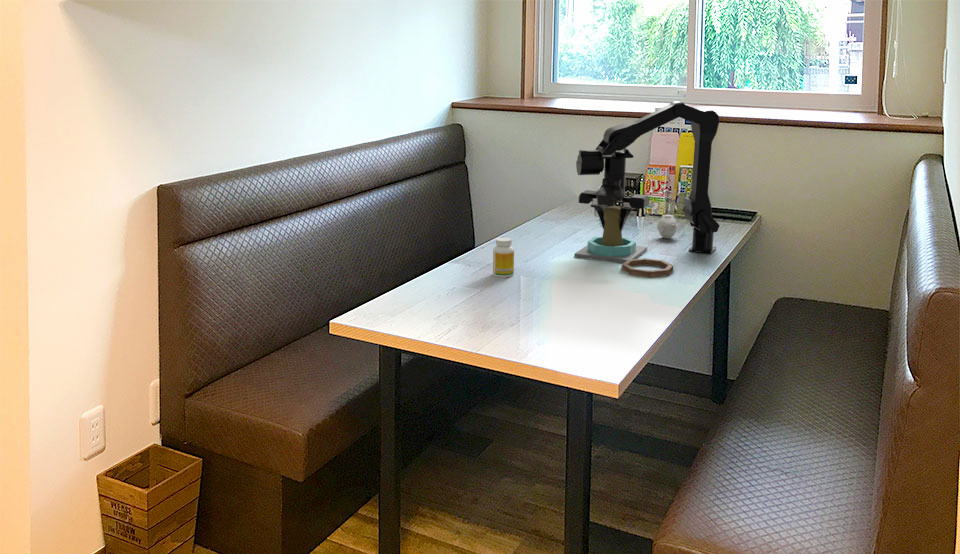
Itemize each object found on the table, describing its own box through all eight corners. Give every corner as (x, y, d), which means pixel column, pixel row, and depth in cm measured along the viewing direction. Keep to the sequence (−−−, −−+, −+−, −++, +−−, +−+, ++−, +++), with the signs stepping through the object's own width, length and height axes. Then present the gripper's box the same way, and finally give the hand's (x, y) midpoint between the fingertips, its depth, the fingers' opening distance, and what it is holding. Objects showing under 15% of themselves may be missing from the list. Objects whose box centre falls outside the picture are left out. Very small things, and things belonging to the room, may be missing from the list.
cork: (622, 248, 248) (623, 209, 245) (600, 247, 250) (601, 208, 246) (623, 243, 254) (625, 205, 251) (601, 242, 255) (603, 204, 252)
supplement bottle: (489, 273, 233) (489, 237, 230) (507, 271, 235) (508, 235, 233) (498, 279, 229) (499, 242, 226) (517, 276, 231) (517, 240, 228)
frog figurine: (675, 235, 273) (677, 213, 271) (678, 241, 266) (679, 218, 265) (655, 235, 274) (656, 212, 272) (657, 240, 267) (658, 217, 265)
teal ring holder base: (593, 244, 263) (594, 232, 262) (647, 250, 256) (647, 238, 255) (574, 257, 249) (574, 244, 248) (630, 263, 242) (630, 251, 241)
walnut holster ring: (631, 261, 244) (632, 256, 244) (676, 267, 239) (677, 261, 238) (617, 273, 234) (617, 267, 233) (664, 279, 228) (664, 273, 228)
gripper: (572, 176, 243) (570, 232, 248) (638, 181, 235) (636, 239, 240) (586, 170, 253) (584, 224, 257) (651, 174, 245) (648, 230, 249)
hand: (612, 229), depth 251 cm, fingers closed on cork, 4 cm apart
